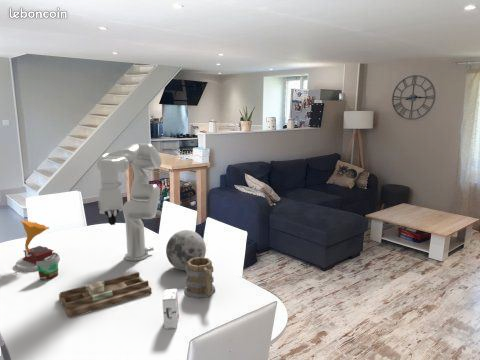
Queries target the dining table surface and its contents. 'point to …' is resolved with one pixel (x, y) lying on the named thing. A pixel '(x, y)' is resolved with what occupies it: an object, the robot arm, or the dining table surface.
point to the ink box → (170, 308)
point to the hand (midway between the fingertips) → (112, 224)
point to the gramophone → (34, 253)
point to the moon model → (184, 248)
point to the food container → (48, 267)
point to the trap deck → (104, 294)
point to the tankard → (199, 277)
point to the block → (95, 288)
